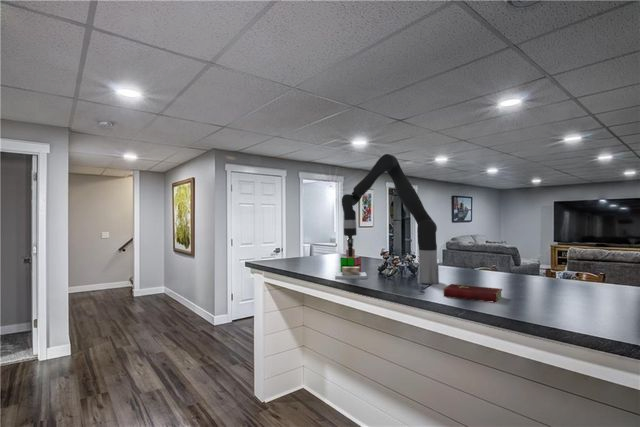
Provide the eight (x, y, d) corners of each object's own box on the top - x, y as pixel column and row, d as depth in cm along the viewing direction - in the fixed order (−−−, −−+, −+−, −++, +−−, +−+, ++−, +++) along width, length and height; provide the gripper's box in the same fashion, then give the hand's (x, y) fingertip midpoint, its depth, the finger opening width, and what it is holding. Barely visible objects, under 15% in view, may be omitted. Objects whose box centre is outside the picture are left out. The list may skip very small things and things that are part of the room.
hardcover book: (497, 304, 134) (497, 293, 134) (443, 297, 147) (443, 287, 147) (502, 298, 144) (502, 288, 144) (451, 292, 156) (451, 283, 156)
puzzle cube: (361, 271, 219) (361, 256, 219) (354, 274, 211) (354, 258, 211) (347, 270, 225) (347, 255, 225) (340, 273, 216) (340, 257, 216)
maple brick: (359, 273, 203) (359, 266, 203) (359, 274, 198) (359, 267, 198) (342, 273, 204) (342, 266, 204) (342, 274, 199) (342, 267, 199)
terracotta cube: (354, 257, 203) (354, 246, 203) (354, 258, 198) (354, 247, 198) (346, 257, 204) (346, 246, 204) (346, 258, 199) (346, 247, 199)
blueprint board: (365, 274, 207) (365, 272, 207) (366, 278, 193) (366, 276, 193) (336, 274, 208) (336, 272, 209) (335, 278, 195) (335, 276, 195)
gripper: (356, 227, 194) (357, 257, 193) (356, 227, 208) (356, 254, 208) (343, 227, 194) (343, 257, 194) (344, 227, 209) (344, 254, 208)
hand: (350, 255), depth 201 cm, fingers closed on terracotta cube, 5 cm apart
